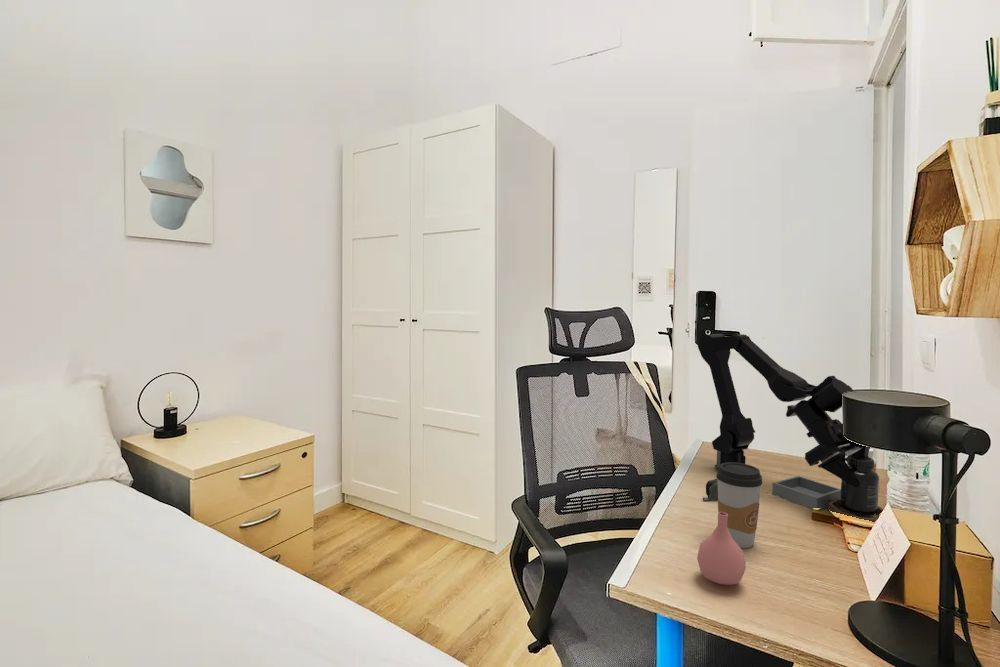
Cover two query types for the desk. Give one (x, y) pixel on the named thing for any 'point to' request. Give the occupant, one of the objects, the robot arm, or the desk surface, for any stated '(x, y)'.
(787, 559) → the desk surface
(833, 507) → the brown shallow dish
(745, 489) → the coffee cup
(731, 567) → the pink vase
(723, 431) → the robot arm
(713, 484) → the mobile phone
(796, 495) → the tray
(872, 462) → the supplement bottle
